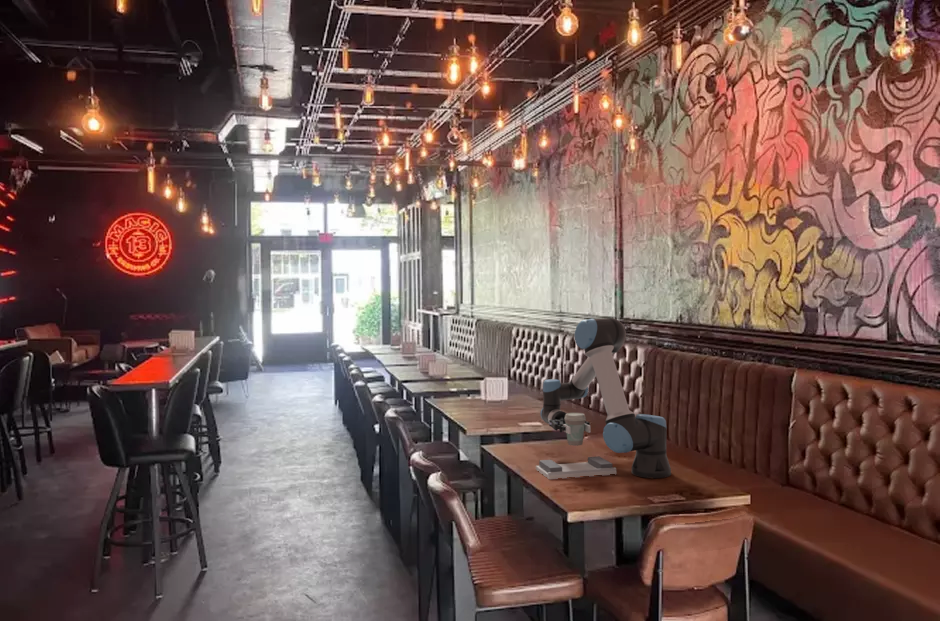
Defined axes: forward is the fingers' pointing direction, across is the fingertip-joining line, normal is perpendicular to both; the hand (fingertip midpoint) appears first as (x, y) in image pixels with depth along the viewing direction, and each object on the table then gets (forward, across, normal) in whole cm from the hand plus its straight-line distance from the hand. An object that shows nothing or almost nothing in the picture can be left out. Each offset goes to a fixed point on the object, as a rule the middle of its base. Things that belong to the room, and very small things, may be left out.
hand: (579, 429), depth 288 cm
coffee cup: (-5, 0, -7) cm, 8 cm away
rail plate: (-5, 0, -18) cm, 18 cm away
